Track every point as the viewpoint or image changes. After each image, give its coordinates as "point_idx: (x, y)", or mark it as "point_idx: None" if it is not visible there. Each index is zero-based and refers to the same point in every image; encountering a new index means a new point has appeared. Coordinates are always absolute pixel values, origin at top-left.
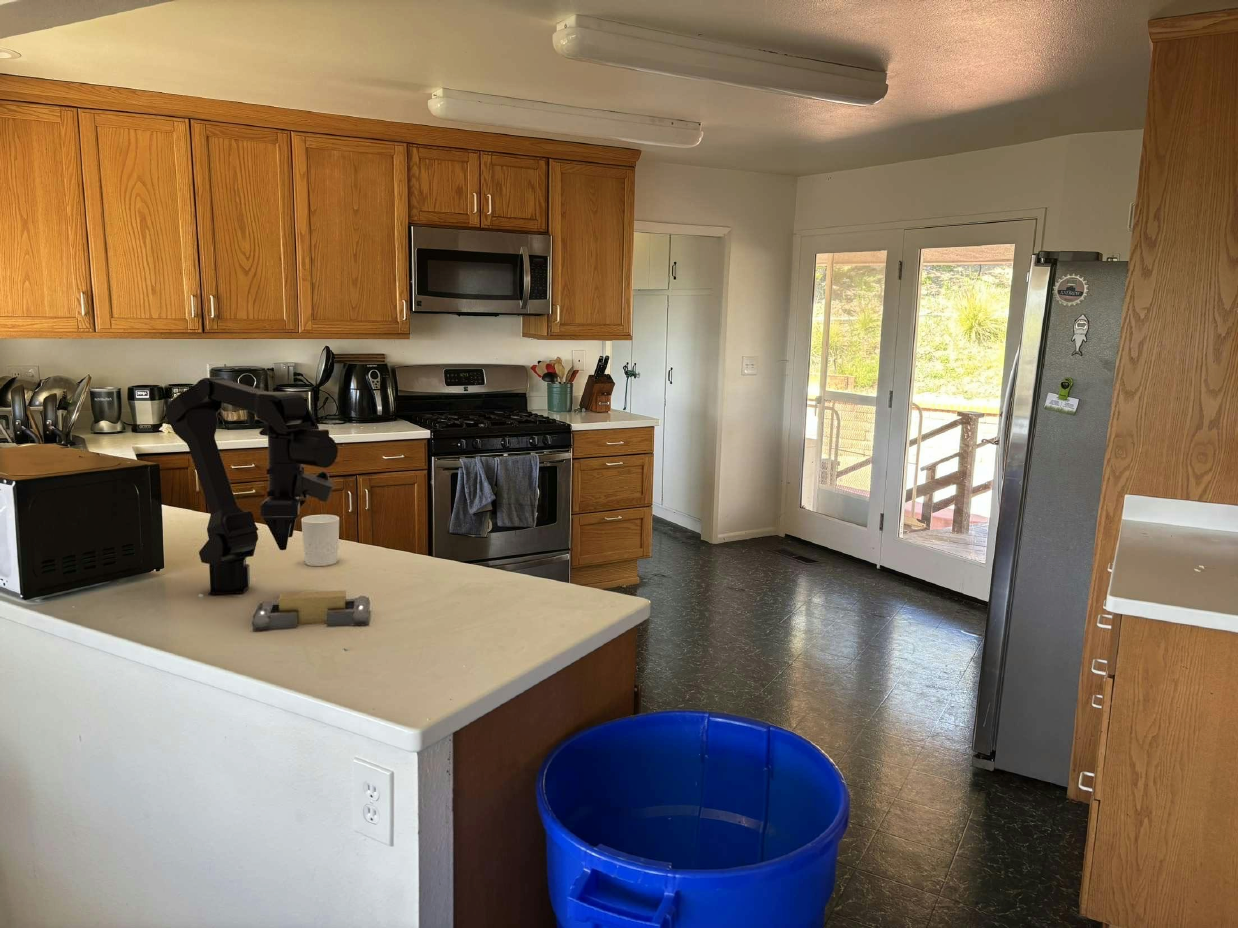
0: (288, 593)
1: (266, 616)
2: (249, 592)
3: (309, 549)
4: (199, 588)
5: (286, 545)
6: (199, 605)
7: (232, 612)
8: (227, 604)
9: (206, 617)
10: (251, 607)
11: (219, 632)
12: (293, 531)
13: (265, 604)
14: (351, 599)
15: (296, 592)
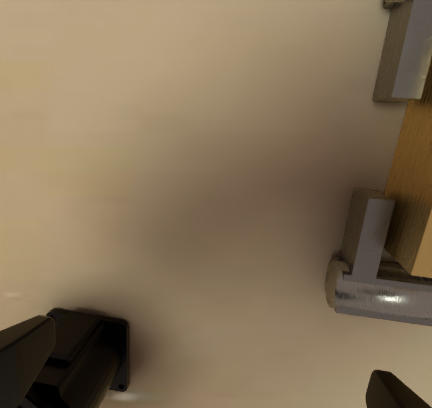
0: (430, 252)
1: None
2: (117, 307)
3: None
4: None
5: (417, 397)
6: (199, 401)
7: (274, 345)
8: (206, 352)
9: (295, 393)
10: (245, 306)
11: (427, 373)
12: (7, 328)
13: (383, 301)
14: (421, 3)
15: (429, 225)
